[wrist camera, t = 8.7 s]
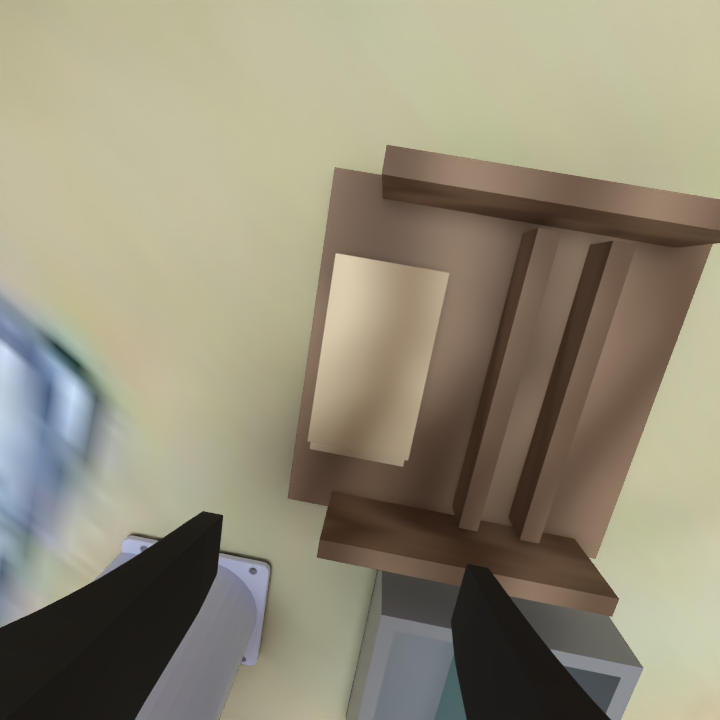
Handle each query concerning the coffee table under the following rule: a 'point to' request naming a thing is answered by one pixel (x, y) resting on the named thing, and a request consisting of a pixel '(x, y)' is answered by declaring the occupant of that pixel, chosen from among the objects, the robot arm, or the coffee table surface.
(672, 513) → the coffee table surface
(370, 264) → the offcut upper
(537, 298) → the rack
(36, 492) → the coffee table surface
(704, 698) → the coffee table surface
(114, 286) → the coffee table surface
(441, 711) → the sheet
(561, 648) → the tote
